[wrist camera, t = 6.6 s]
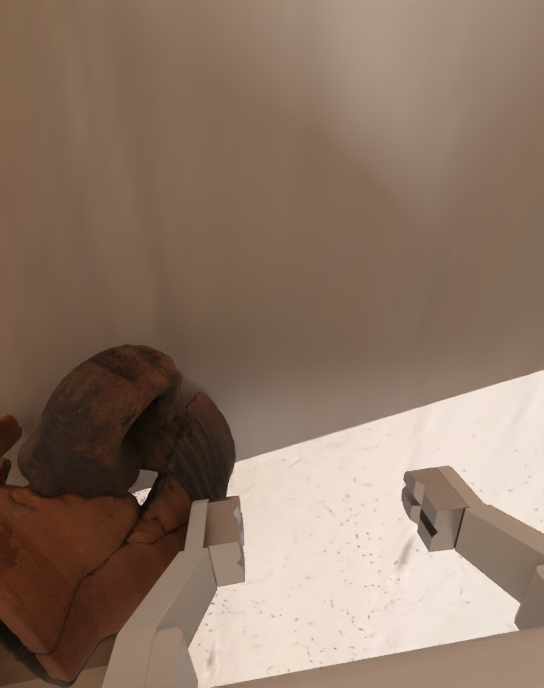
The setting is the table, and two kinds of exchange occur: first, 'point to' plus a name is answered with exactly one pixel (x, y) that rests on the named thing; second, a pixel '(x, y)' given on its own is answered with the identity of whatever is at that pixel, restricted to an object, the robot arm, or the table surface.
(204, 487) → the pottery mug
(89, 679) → the dock
